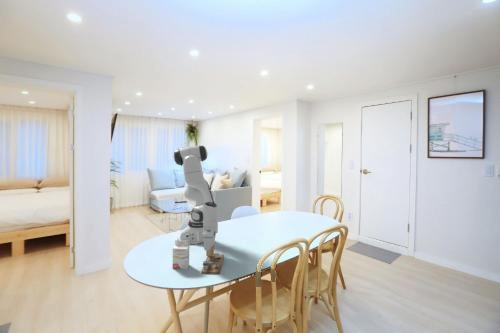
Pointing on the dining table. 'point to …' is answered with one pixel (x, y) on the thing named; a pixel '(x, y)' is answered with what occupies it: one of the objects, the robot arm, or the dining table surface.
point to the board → (213, 264)
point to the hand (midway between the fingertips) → (210, 251)
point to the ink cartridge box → (181, 254)
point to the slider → (212, 252)
